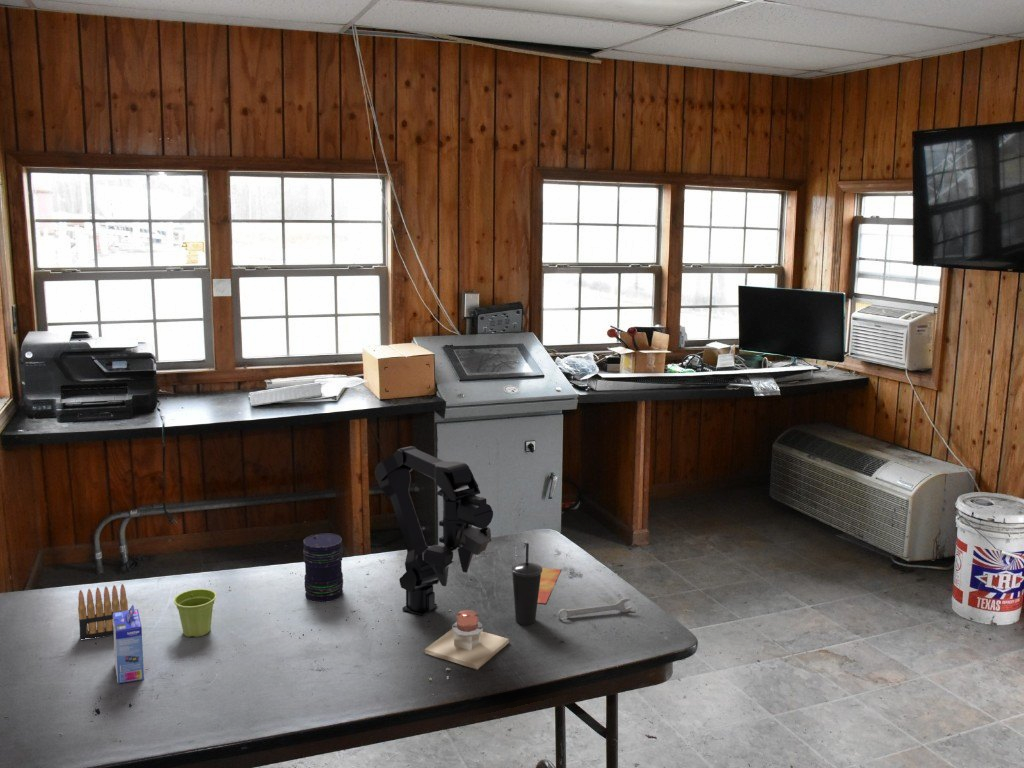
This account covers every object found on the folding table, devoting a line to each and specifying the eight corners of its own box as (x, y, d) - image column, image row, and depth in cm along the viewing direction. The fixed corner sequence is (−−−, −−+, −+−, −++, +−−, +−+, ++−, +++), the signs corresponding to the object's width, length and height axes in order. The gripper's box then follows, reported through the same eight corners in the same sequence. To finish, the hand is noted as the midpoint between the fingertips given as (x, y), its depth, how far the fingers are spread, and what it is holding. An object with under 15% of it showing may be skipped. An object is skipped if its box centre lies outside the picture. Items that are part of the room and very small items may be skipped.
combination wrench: (558, 609, 216) (634, 599, 221) (556, 607, 217) (632, 596, 222) (558, 623, 216) (634, 612, 221) (556, 621, 218) (632, 610, 223)
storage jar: (351, 592, 230) (350, 538, 227) (324, 606, 222) (323, 550, 219) (323, 583, 235) (322, 530, 232) (296, 596, 227) (294, 541, 224)
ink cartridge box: (146, 679, 187) (141, 616, 184) (117, 685, 184) (112, 621, 181) (141, 658, 195) (137, 597, 192) (114, 663, 193) (109, 602, 190)
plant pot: (225, 631, 208) (223, 597, 206) (187, 645, 201) (185, 610, 200) (205, 618, 214) (204, 585, 213) (168, 631, 208) (166, 597, 206)
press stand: (424, 653, 199) (424, 634, 198) (458, 628, 211) (458, 610, 210) (477, 669, 193) (477, 650, 192) (508, 642, 205) (509, 625, 204)
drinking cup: (538, 629, 212) (540, 551, 208) (507, 625, 213) (508, 548, 209) (543, 615, 219) (545, 539, 215) (513, 611, 220) (514, 536, 216)
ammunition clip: (130, 628, 209) (126, 581, 206) (130, 632, 207) (126, 584, 205) (80, 637, 204) (76, 589, 202) (80, 640, 203) (75, 592, 200)
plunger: (446, 645, 200) (446, 617, 199) (462, 633, 206) (462, 605, 205) (472, 653, 197) (472, 624, 196) (488, 640, 203) (488, 612, 202)
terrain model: (561, 571, 247) (561, 569, 246) (545, 605, 225) (545, 603, 225) (475, 561, 252) (475, 559, 252) (452, 594, 231) (452, 592, 231)
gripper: (462, 535, 194) (462, 601, 198) (504, 511, 210) (503, 572, 214) (421, 526, 200) (421, 590, 203) (464, 503, 216) (464, 562, 219)
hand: (454, 578), depth 209 cm, fingers open, 9 cm apart
